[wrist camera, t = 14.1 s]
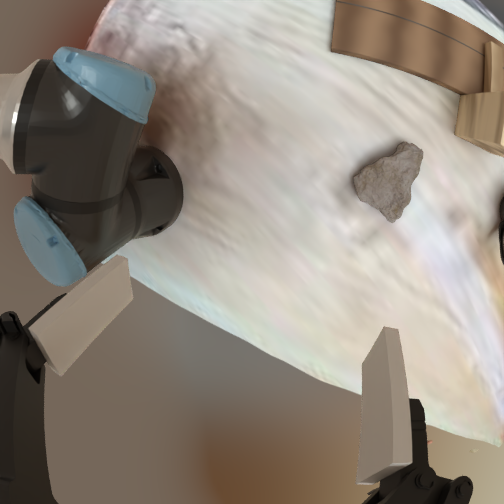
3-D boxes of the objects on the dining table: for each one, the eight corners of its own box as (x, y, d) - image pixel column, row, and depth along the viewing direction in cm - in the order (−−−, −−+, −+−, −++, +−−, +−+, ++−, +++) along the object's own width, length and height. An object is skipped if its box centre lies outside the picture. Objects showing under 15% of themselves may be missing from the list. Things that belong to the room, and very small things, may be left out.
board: (331, 51, 26) (331, 47, 24) (337, -17, 20) (337, -23, 18) (508, 122, 21) (515, 123, 19) (510, 55, 15) (517, 53, 14)
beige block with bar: (454, 134, 26) (500, 144, 16) (462, 39, 18) (503, 18, 8) (490, 153, 25) (539, 170, 14) (499, 60, 17) (544, 51, 7)
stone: (379, 124, 29) (389, 125, 24) (428, 158, 29) (444, 166, 24) (345, 187, 34) (348, 198, 29) (393, 217, 34) (403, 233, 29)
